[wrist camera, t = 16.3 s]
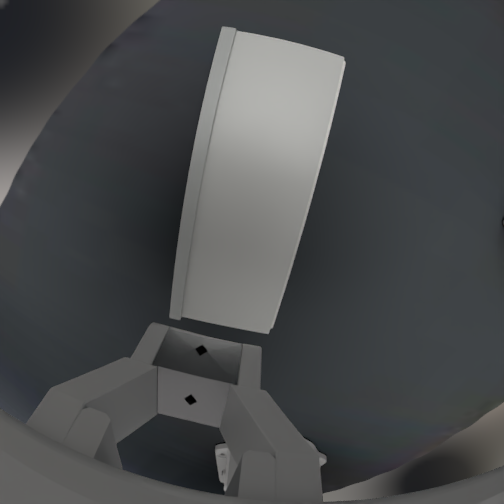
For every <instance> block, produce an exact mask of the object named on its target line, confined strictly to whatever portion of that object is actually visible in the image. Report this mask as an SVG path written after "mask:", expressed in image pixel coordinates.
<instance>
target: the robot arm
mask: <svg viewBox="0 0 504 504" xmlns="http://www.w3.org/2000/svg"><path fill="white" fill-rule="evenodd" d="M261 360H262V348H261V346H255V345H249V344H240V343H235V342H230V341H225V340H221V339H216V338H212V337H207V336H204V335H200V334H196V333H192V332H189V331H185V330H181V329H178V328H174V327H169V326H166V325H163V324H159V323H155V322H153V323H151V324H150V325H149V327H148V328H147V330H146V332H145V334H144V335H143V337H142V339H141V341H140V342H139V344H138V346H137V348H136V349H135V351H134V353H133V355H132V356H131V358H127V357H124V358H122V359H119V360H117V361H115V362H112V363H110V364H108V365H105V366H103V367H101V368H98V369H96V370H94V371H91V372H89V373H86V374H84V375H82V376H79V377H77V378H74V379H72V380H69V381H67V382H64V383H62V384H59V385H57V386H54V387H52V388H51V389H50V390H49V391H48V393H47V394H46V396H45V397H44V398H43V400H42V401H41V403H40V404H39V406H38V407H37V409H36V410H35V411H34V413H33V414H32V416H31V417H30V419H29V420H28V422H27V423H26V424H24V423H22V422H21V421H19V420H18V419H16V418H14V417H13V416H11V415H10V414H8V413H7V412H5V411H4V410H2V409H1V408H0V504H504V466H502V467H499V468H496V469H494V470H491V471H488V472H486V473H483V474H480V475H477V476H474V477H471V478H468V479H465V480H462V481H458V482H454V483H451V484H447V485H444V486H440V487H436V488H431V489H427V490H422V491H418V492H413V493H407V494H402V495H396V496H389V497H382V498H375V499H365V500H355V501H354V500H353V501H337V502H323V496H322V484H321V474H320V467H321V466H322V465H323V464H325V463H326V461H327V457H326V455H324V454H322V453H320V452H318V451H317V449H316V447H315V445H314V444H313V443H311V442H310V441H308V440H306V439H304V438H303V436H302V435H301V434H300V433H299V431H298V430H297V429H296V428H295V427H294V425H293V424H292V423H291V422H290V420H289V419H288V418H287V417H286V415H285V414H284V413H283V412H282V410H281V409H280V408H279V407H278V405H277V404H276V403H275V402H274V400H273V399H272V398H271V396H270V395H269V394H268V393H267V391H265V390H260V386H261ZM157 413H160V414H164V415H168V416H172V417H176V418H181V419H185V420H189V421H193V422H197V423H201V424H205V425H209V426H214V427H218V428H219V430H220V432H221V434H222V436H223V438H224V440H225V442H226V443H224V444H218V445H216V446H215V454H216V461H217V468H218V474H219V480H220V482H222V483H224V491H226V492H225V495H219V494H213V493H208V492H203V491H198V490H193V489H188V488H184V487H180V486H175V485H171V484H168V483H164V482H160V481H157V480H153V479H150V478H146V477H143V476H140V475H137V474H134V473H131V472H128V471H125V470H122V464H121V461H120V457H119V453H118V449H117V445H116V443H118V442H119V441H121V440H122V439H123V438H125V437H126V436H128V435H129V434H131V433H132V432H133V431H135V430H136V429H138V428H139V427H140V426H142V425H143V424H144V423H146V422H147V421H149V420H150V419H151V418H153V417H154V416H155V415H157Z"/></svg>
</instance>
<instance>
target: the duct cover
mask: <svg viewBox="0 0 504 504" xmlns="http://www.w3.org/2000/svg"><path fill="white" fill-rule="evenodd" d="M343 61H344V57H342V56H339V55H336V54H333V53H330V52H326V51H323V50H320V49H316V48H313V47H309V46H305V45H302V44H298V43H294V42H290V41H286V40H281V39H277V38H272V37H267V36H262V35H257V34H252V33H246V32H240V31H237V30H236V28H229V27H222V30H221V33H220V37H219V40H218V44H217V48H216V51H215V55H214V59H213V63H212V67H211V71H210V75H209V79H208V83H207V87H206V91H205V96H204V100H203V104H202V109H201V113H200V118H199V123H198V127H197V132H196V137H195V142H194V147H193V152H192V158H191V163H190V168H189V174H188V180H187V185H186V191H185V197H184V204H183V210H182V216H181V223H180V230H179V237H178V244H177V252H176V260H175V268H174V277H173V285H172V295H171V305H170V315H169V318H172V319H177V320H180V319H181V317H186V318H190V319H195V320H199V321H204V322H208V323H213V324H218V325H223V326H228V327H233V328H238V329H243V330H248V331H254V332H259V333H265V334H269V331H270V328H271V325H272V322H273V319H274V316H275V312H276V309H277V306H278V303H279V300H280V297H281V293H282V290H283V287H284V284H285V280H286V277H287V274H288V270H289V267H290V264H291V260H292V257H293V254H294V250H295V247H296V243H297V240H298V237H299V233H300V230H301V226H302V223H303V219H304V216H305V212H306V208H307V205H308V201H309V198H310V194H311V190H312V187H313V183H314V179H315V175H316V172H317V168H318V164H319V160H320V156H321V153H322V149H323V145H324V141H325V137H326V133H327V129H328V125H329V121H330V117H331V113H332V109H333V104H334V100H335V96H336V92H337V87H338V83H339V79H340V74H341V70H342V65H343Z"/></svg>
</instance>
